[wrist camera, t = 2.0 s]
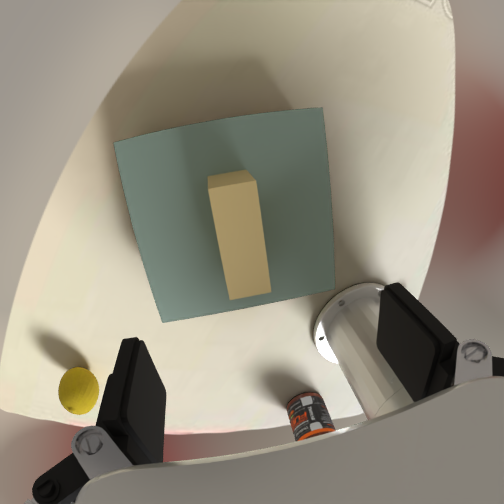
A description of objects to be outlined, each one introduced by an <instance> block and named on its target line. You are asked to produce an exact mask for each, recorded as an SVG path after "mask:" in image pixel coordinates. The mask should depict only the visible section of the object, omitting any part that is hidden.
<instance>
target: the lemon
mask: <svg viewBox="0 0 504 504" xmlns="http://www.w3.org/2000/svg"><path fill="white" fill-rule="evenodd" d="M58 393H59V399H60V402H61V404H62V405H63V407H64V408H65V409H66V410H67V411H69V412H70V413H73V414H77V415H81V414H86V413H88V412H89V411H90V410H91V409H92V408H93V407H94V405H95V404H96V402H97V399H98V395H99V385H98V382H97V379H96V377H95V376H94V375H93V374H92V373H91V372H90V371H89V370H87V369H85V368H82V367H75V368H72V369H70V370H68V371H67V372H66V373H65V374H64V375H63V377H62V379H61V381H60V384H59V390H58Z"/></svg>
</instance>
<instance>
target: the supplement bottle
mask: <svg viewBox="0 0 504 504" xmlns="http://www.w3.org/2000/svg"><path fill="white" fill-rule="evenodd" d="M287 413H288V416H289V420H290V423H291V427H292V430H293V434H294V437H295V440H296V441H300V440H304V439H308V438H312V437H315V436H319V435H323V434H326V433H330V432H333V431H336V430H335V428H334V425H333V423H332V420H331V418H330V415H329V413H328V410H327V408H326V405H325V403H324V400H323V398H322V397H321V396H320V395H319V394H317V393H311V392H310V393H303V394H300V395H298V396H296V397H294V398H293V399H292V400H291V401H290V402H289V403H288V405H287Z"/></svg>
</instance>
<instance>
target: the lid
mask: <svg viewBox="0 0 504 504" xmlns="http://www.w3.org/2000/svg"><path fill="white" fill-rule="evenodd" d="M114 148H115V153H116V158H117V163H118V168H119V172H120V177H121V181H122V185H123V190H124V194H125V198H126V202H127V206H128V210H129V214H130V218H131V222H132V226H133V229H134V233H135V237H136V240H137V244H138V247H139V251H140V254H141V258H142V261H143V265H144V268H145V271H146V274H147V278H148V281H149V284H150V287H151V290H152V293H153V296H154V300H155V303H156V306H157V308H158V311H159V314H160V317H161V320H162V323H165V322H171V321H177V320H183V319H189V318H195V317H200V316H206V315H212V314H217V313H223V312H228V311H233V310H239V309H244V308H249V307H254V306H259V305H264V304H269V303H274V302H279V301H283V300H288V299H293V298H298V297H302V296H307V295H311V294H316V293H320V292H325V291H329V290H333V289H335V264H334V238H333V218H332V202H331V188H330V175H329V164H328V153H327V143H326V133H325V125H324V116H323V108H308V109H296V110H285V111H276V112H267V113H259V114H251V115H244V116H237V117H230V118H224V119H218V120H212V121H206V122H201V123H195V124H190V125H185V126H180V127H175V128H171V129H166V130H162V131H157V132H153V133H149V134H144V135H140V136H136V137H132V138H129V139H125V140H121V141H117V142H114Z"/></svg>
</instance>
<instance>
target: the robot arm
mask: <svg viewBox="0 0 504 504" xmlns="http://www.w3.org/2000/svg"><path fill="white" fill-rule="evenodd" d="M313 338H314V342H315V345H316V347H317V349H318V351H319V353H320V354H321V355H322V356H323V357H324V358H325V359H327V360H329V361H331V362H335V363H338V364H339V365H340V367H341V369H342V371H343V373H344V375H345V377H346V379H347V381H348V382H349V384H350V386H351V388H352V390H353V392H354V394H355V396H356V398H357V400H358V402H359V404H360V405H361V407H362V409H363V411H364V413H365V415H366V417H367V419H368V420H367V421H364V422H362V423H358V424H355V425H352V426H349V427H346V428H343V429H340V430H336V431H333V432H330V433H326V434H323V435H319V436H315V437H312V438H308V439H304V440H300V441H296V442H292V443H288V444H283V445H279V446H275V447H269V448H265V449H260V450H254V451H249V452H243V453H237V454H231V455H225V456H218V457H210V458H202V459H194V460H185V461H175V462H163V445H164V425H165V409H166V390H165V387H164V385H163V383H162V381H161V379H160V376H159V374H158V372H157V370H156V368H155V366H154V363H153V361H152V359H151V357H150V354H149V352H148V350H147V347H146V345H145V343H144V341H143V340H140V341H139V339H138V338H137V337H134V338H127V339H123V340H122V343H121V346H120V349H119V353H118V356H117V360H116V363H115V367H114V371H113V374H110V375H109V377H108V379H107V383H106V387H105V390H104V394H103V398H102V402H101V406H100V410H99V414H98V418H97V422H96V426H88V427H85V428H83V429H81V430H80V431H78V432H77V433H76V434H75V436H74V437H73V440H72V443H71V448H72V451H73V453H72V454H71V455H69V456H68V457H66V458H65V459H64V460H62V461H61V462H60V463H58V464H57V465H55V466H54V467H52V468H51V469H50V470H49V471H47V472H46V473H44V474H43V475H41V476H40V477H39V478H38V479H37V480H36V481H35V483H34V485H33V488H32V492H33V497H34V498H33V499H32V500H31V501H30V500H29V499H27V501H26V502H25V503H24V504H504V358H499V357H493V356H492V353H491V350H490V348H489V346H488V345H486V344H485V343H483V342H481V341H479V340H475V339H469V340H465V341H463V342H462V343H460V344H459V343H458V342H457V341H456V340H457V339H456V338H455V337H454V336H453V335H452V334H451V333H450V331H448V329H446V327H445V326H444V325H443V324H442V323H440V321H439V320H438V319H437V318H435V317H434V316H433V315H432V314H431V313H430V312H429V311H428V310H427V309H426V308H425V307H424V306H423V305H422V304H421V303H420V302H419V301H418V300H417V299H416V298H415V297H414V296H413V295H412V294H411V293H410V292H409V291H407V290H406V289H405V288H404V287H403V286H402V285H401V284H400V283H393V284H390V285H386V286H383V285H381V284H377V283H362V284H358V285H354V286H352V287H350V288H347V289H345V290H344V291H342V292H340V293H339V294H337V295H336V296H335V297H334V298H332V299H331V300H330V301H329V302H328V303H327V305H326V306H325V307H324V308H323V310H322V311H321V313H320V314H319V316H318V318H317V320H316V323H315V327H314V335H313Z"/></svg>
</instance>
